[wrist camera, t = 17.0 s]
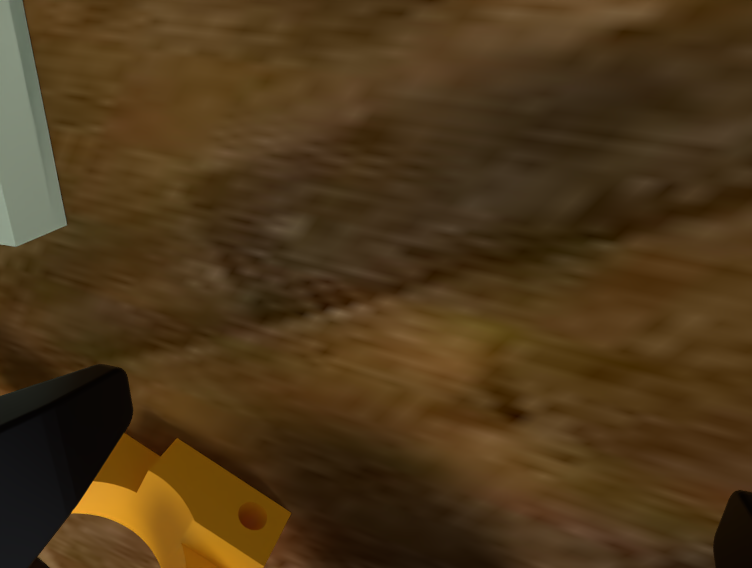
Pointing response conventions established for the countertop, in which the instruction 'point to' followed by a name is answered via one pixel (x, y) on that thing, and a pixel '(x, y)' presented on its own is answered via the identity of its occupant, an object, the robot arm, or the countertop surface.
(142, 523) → the pipe clamp
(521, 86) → the countertop surface
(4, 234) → the tray
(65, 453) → the robot arm
